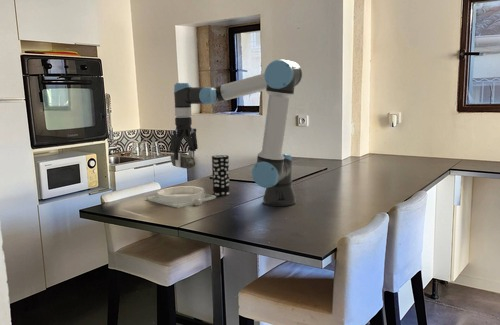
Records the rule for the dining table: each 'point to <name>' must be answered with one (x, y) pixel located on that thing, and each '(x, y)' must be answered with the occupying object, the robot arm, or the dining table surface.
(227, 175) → the spotted tube
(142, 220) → the dining table surface
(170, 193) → the bowl
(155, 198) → the tray
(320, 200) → the dining table surface
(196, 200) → the pebble
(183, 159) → the stone
